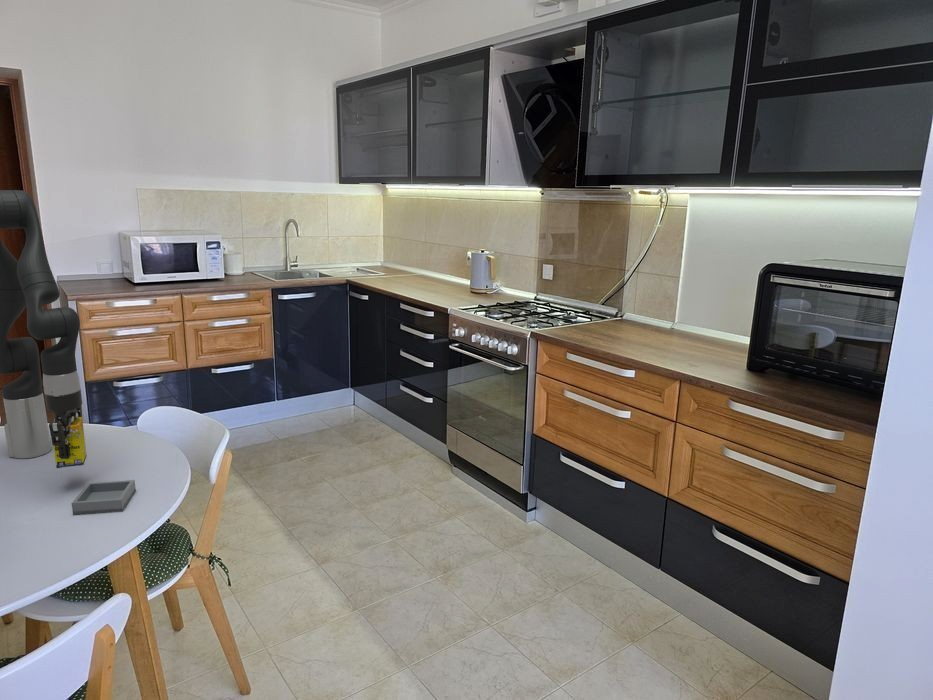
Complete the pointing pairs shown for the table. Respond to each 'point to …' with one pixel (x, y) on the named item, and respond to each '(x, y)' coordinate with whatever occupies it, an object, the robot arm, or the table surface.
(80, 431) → the supplement box
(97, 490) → the holder
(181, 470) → the table surface
